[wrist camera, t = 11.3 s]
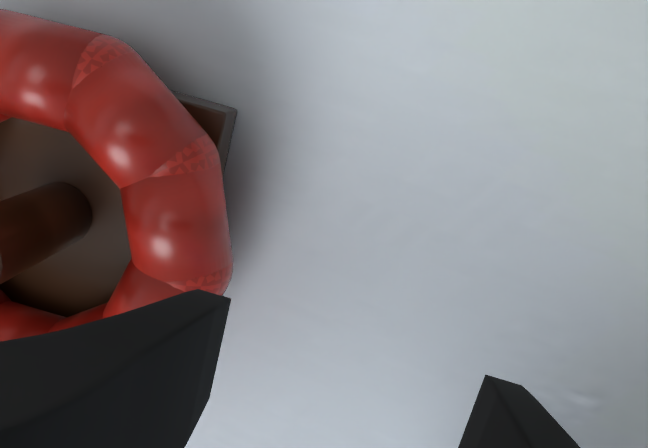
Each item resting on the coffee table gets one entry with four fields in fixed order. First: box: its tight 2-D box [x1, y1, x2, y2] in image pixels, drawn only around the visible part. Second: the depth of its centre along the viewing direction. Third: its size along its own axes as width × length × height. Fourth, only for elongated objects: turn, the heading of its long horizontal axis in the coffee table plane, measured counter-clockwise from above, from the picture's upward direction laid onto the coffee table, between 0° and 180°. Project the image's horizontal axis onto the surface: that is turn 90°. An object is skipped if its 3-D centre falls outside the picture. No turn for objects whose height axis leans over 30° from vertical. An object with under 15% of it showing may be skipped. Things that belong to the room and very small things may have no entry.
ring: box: [0, 9, 233, 341], centre depth 18 cm, size 12×12×3 cm
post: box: [0, 90, 237, 317], centre depth 18 cm, size 9×9×6 cm
